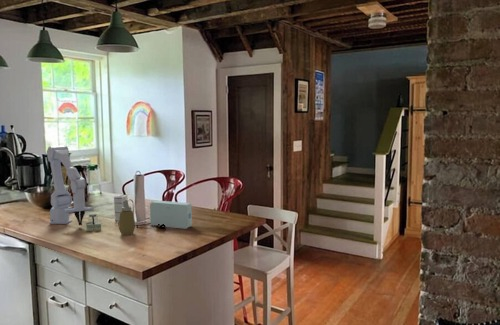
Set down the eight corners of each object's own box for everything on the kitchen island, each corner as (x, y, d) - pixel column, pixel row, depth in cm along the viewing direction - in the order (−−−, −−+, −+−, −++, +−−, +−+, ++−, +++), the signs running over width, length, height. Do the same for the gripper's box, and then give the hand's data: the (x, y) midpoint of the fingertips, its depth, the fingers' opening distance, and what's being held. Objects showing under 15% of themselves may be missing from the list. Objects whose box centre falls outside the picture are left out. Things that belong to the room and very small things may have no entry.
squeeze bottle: (126, 237, 202) (125, 202, 200) (115, 234, 206) (114, 200, 204) (138, 233, 209) (137, 199, 207) (128, 231, 213) (126, 198, 211)
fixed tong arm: (89, 221, 233) (89, 214, 232) (99, 220, 235) (99, 213, 235) (89, 231, 212) (89, 224, 212) (101, 230, 214) (100, 222, 214)
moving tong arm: (86, 223, 228) (86, 217, 228) (92, 222, 229) (92, 216, 229) (86, 231, 212) (86, 224, 211) (93, 230, 213) (92, 224, 212)
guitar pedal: (149, 225, 224) (149, 202, 223) (155, 223, 230) (154, 200, 228) (187, 229, 217) (186, 205, 215) (191, 226, 222) (191, 203, 221)
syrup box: (123, 221, 233) (122, 196, 231) (114, 220, 234) (113, 196, 233) (128, 218, 239) (127, 194, 237) (119, 218, 240) (118, 194, 238)
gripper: (64, 203, 212) (65, 228, 214) (93, 200, 218) (94, 225, 219) (64, 200, 218) (65, 224, 220) (93, 198, 224) (94, 222, 226)
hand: (80, 224), depth 220 cm, fingers closed
